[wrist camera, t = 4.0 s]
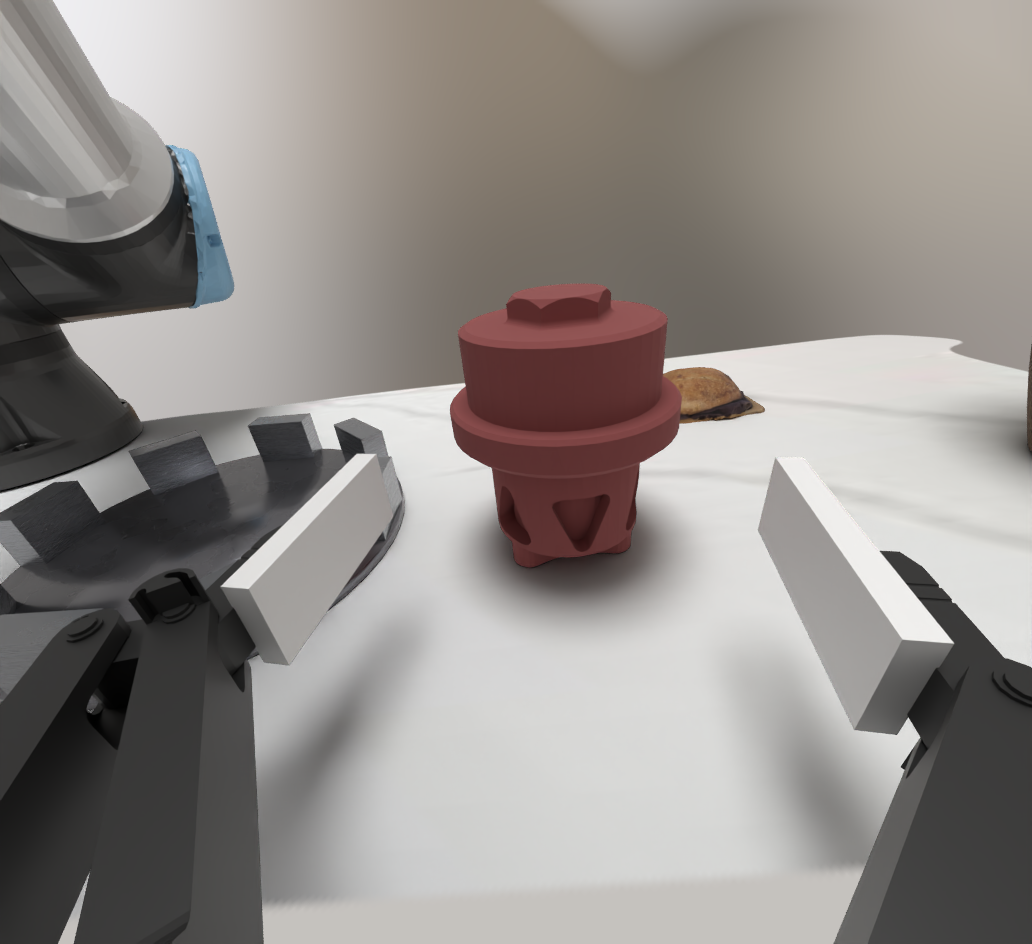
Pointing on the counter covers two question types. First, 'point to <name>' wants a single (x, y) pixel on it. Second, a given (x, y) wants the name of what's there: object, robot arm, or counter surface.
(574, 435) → the mechanical component
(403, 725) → the counter surface
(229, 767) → the robot arm
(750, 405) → the bread roll
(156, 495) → the castellated collar
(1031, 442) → the plant pot
